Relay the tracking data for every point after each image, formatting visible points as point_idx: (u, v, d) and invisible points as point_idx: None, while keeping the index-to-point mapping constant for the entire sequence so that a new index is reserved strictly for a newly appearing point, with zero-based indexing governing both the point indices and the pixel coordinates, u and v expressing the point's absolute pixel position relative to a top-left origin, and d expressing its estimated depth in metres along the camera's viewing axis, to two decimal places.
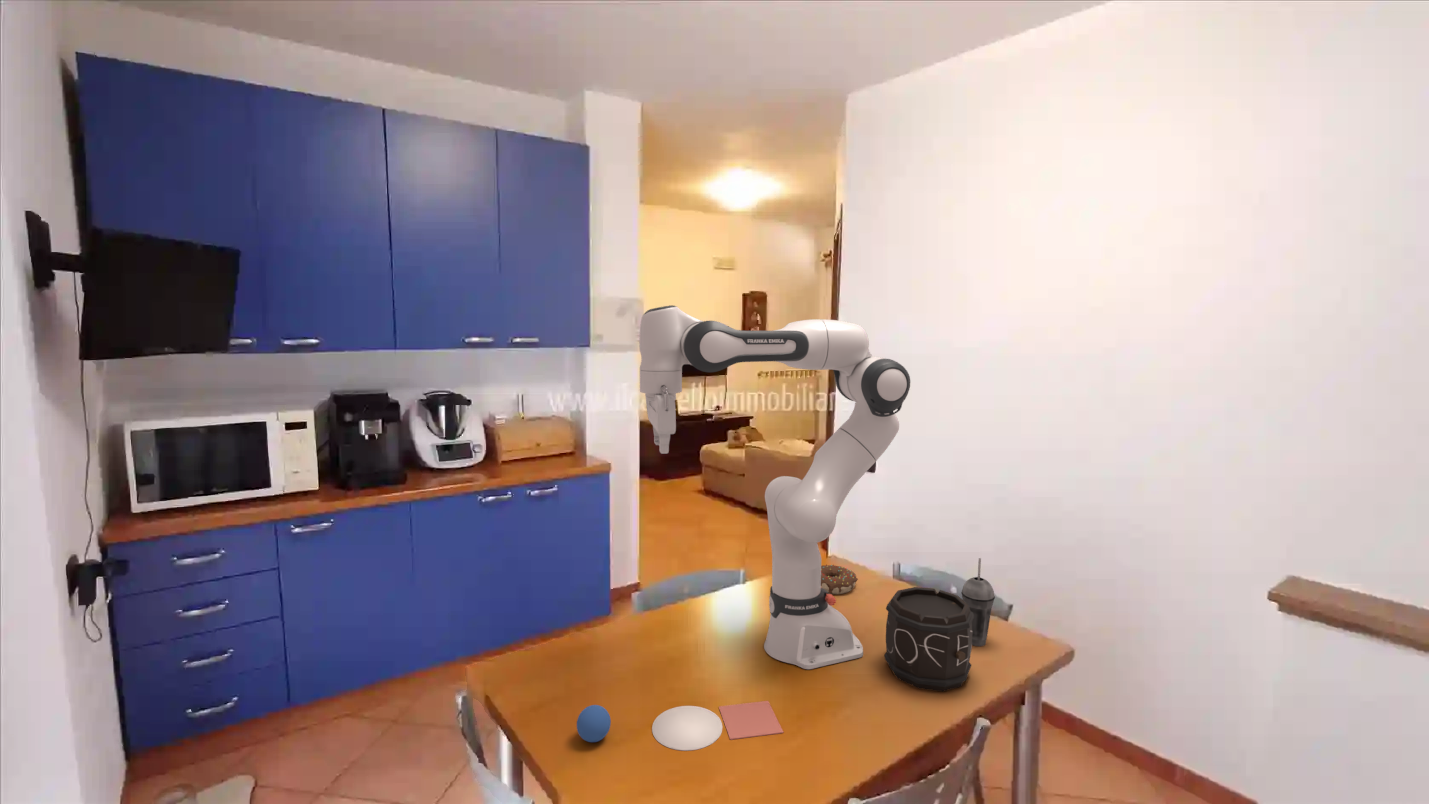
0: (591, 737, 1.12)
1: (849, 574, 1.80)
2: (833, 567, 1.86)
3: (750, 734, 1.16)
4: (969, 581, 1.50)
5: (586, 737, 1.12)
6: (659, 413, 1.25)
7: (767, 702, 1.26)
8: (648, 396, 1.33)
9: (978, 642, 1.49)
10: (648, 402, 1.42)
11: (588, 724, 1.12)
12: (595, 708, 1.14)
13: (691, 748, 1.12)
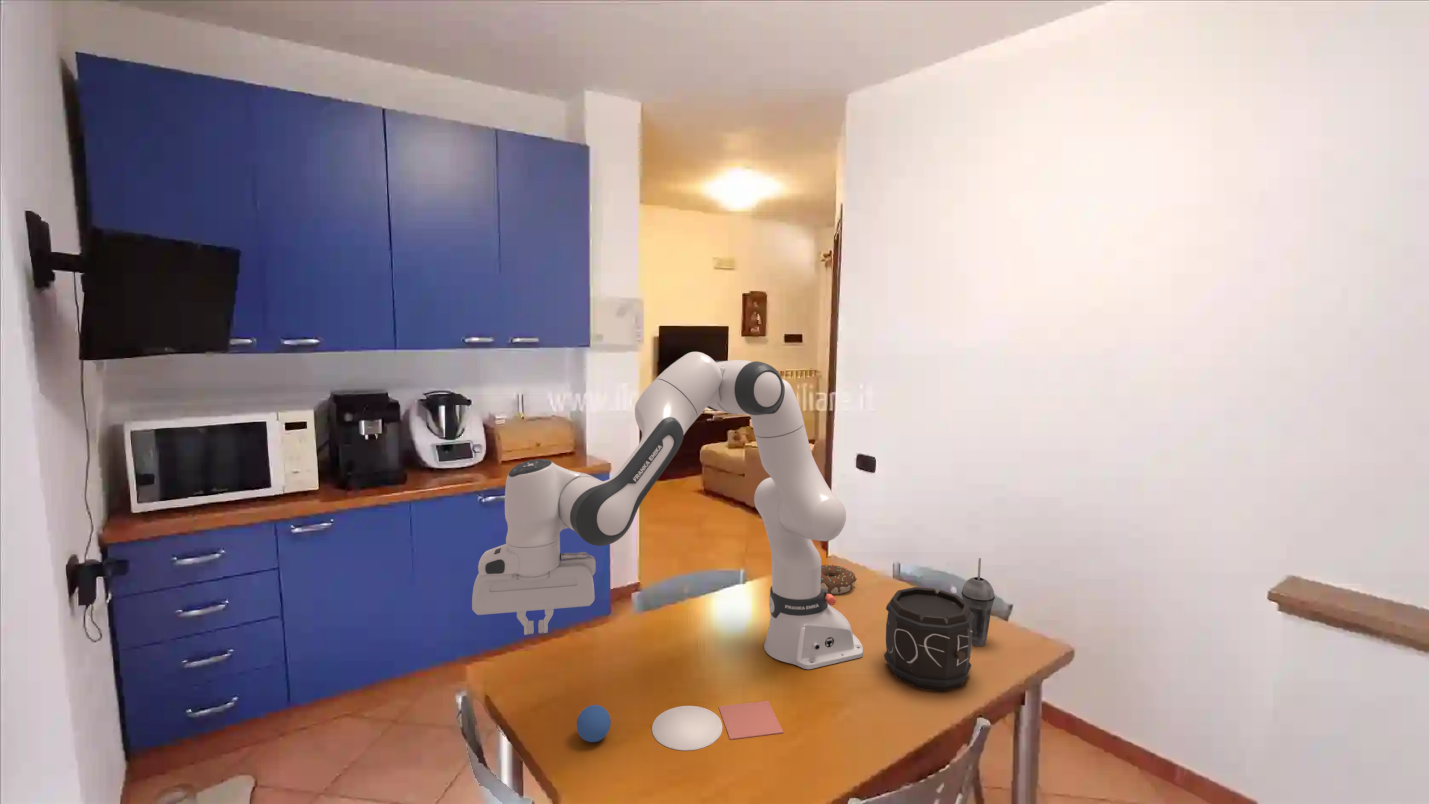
0: (591, 737, 1.12)
1: (848, 574, 1.80)
2: (832, 567, 1.86)
3: (750, 734, 1.16)
4: (969, 581, 1.50)
5: (586, 737, 1.12)
6: (592, 582, 1.10)
7: (767, 702, 1.26)
8: (541, 574, 1.07)
9: (978, 642, 1.49)
10: (485, 590, 1.06)
11: (588, 724, 1.12)
12: (595, 708, 1.14)
13: (691, 748, 1.12)
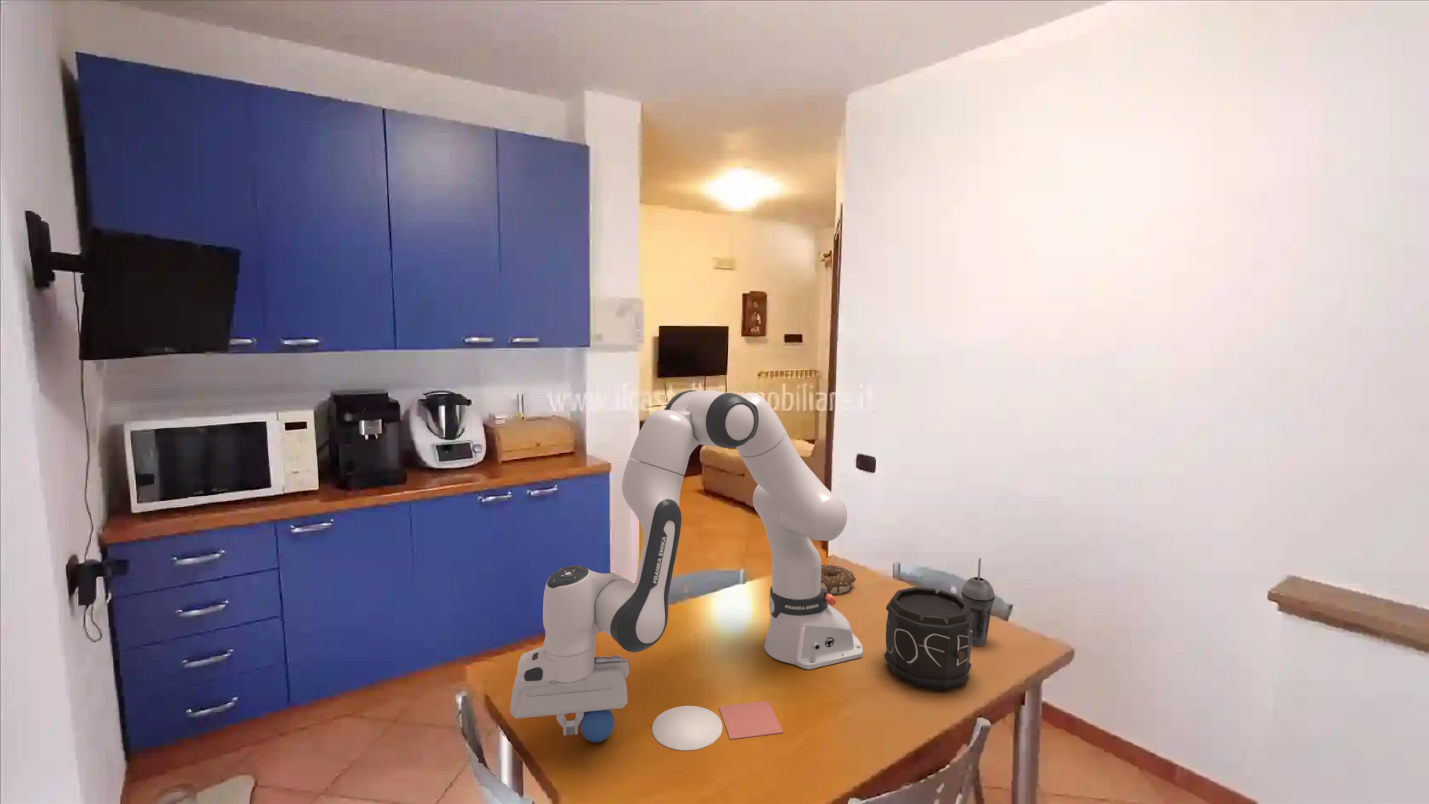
0: (594, 737, 1.12)
1: (847, 574, 1.80)
2: (831, 567, 1.86)
3: (750, 734, 1.16)
4: (969, 581, 1.50)
5: (589, 736, 1.12)
6: (625, 685, 1.14)
7: (767, 702, 1.26)
8: (577, 680, 1.11)
9: (978, 642, 1.49)
10: (523, 695, 1.10)
11: (593, 723, 1.12)
12: None
13: (691, 748, 1.12)
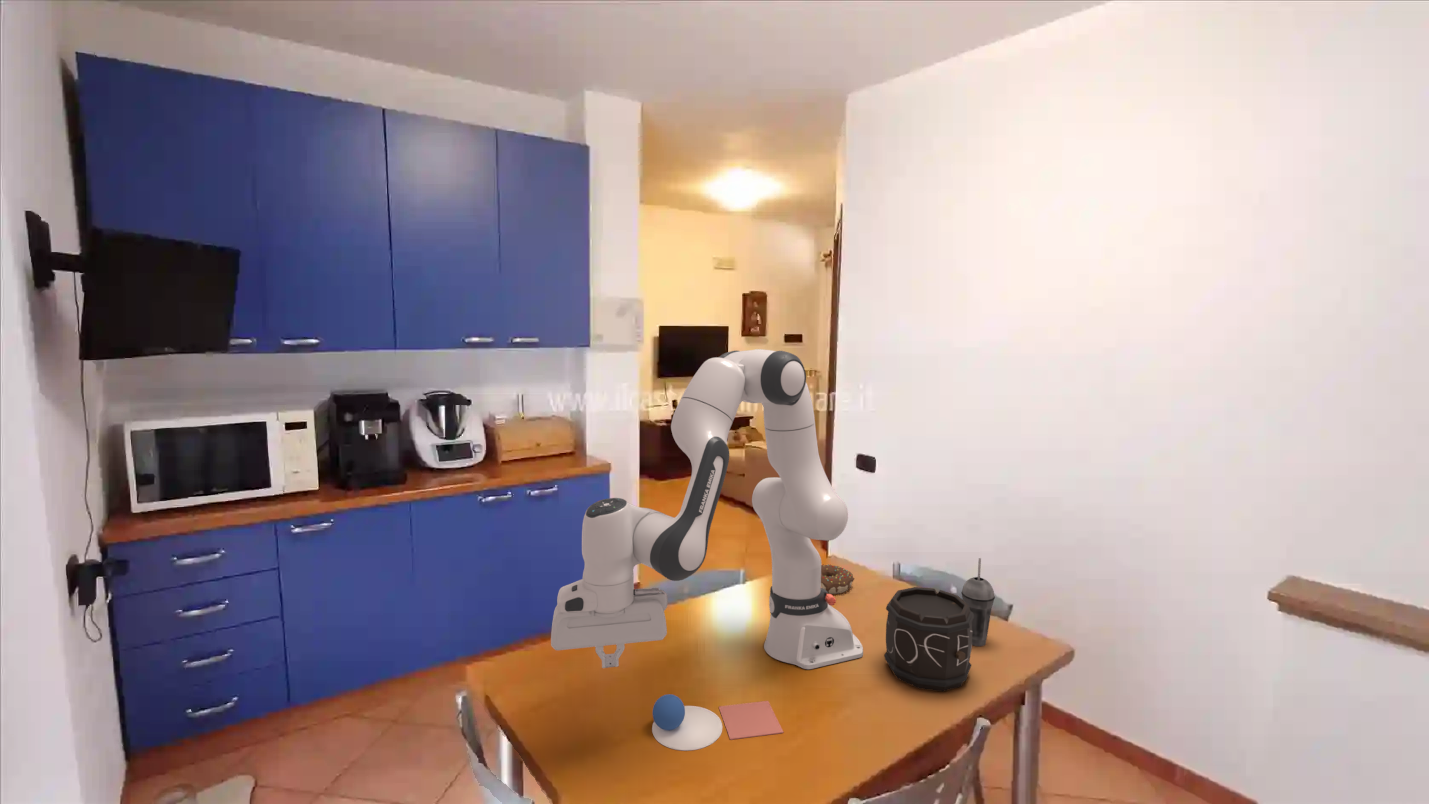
0: (676, 715, 1.16)
1: (846, 574, 1.80)
2: (830, 567, 1.86)
3: (750, 734, 1.16)
4: (969, 581, 1.50)
5: (680, 714, 1.16)
6: (664, 617, 1.14)
7: (767, 702, 1.26)
8: (618, 611, 1.10)
9: (978, 642, 1.49)
10: (563, 627, 1.10)
11: (676, 726, 1.16)
12: None
13: (691, 748, 1.12)
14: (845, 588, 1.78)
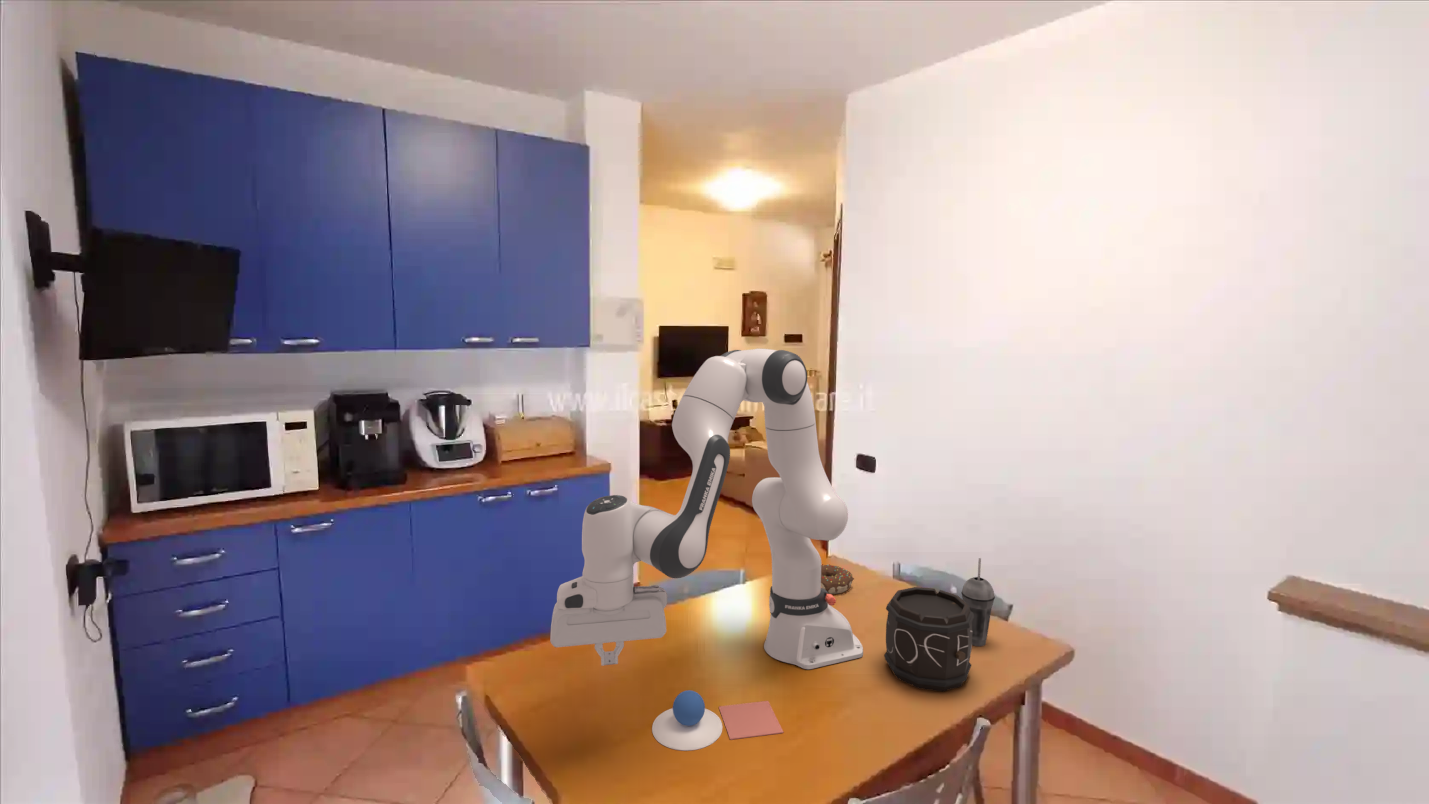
0: (698, 717, 1.17)
1: (845, 574, 1.80)
2: (829, 567, 1.86)
3: (750, 734, 1.16)
4: (969, 581, 1.50)
5: (698, 720, 1.18)
6: (664, 614, 1.13)
7: (767, 702, 1.26)
8: (617, 608, 1.10)
9: (978, 642, 1.49)
10: (563, 623, 1.10)
11: (686, 722, 1.17)
12: (674, 710, 1.18)
13: (691, 748, 1.12)
14: (845, 588, 1.78)
